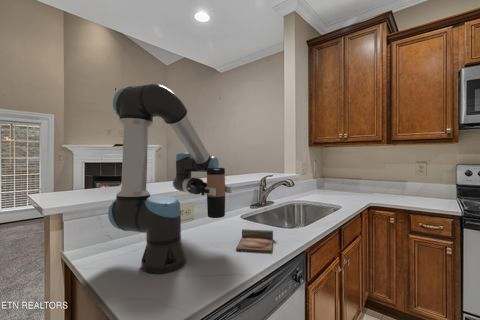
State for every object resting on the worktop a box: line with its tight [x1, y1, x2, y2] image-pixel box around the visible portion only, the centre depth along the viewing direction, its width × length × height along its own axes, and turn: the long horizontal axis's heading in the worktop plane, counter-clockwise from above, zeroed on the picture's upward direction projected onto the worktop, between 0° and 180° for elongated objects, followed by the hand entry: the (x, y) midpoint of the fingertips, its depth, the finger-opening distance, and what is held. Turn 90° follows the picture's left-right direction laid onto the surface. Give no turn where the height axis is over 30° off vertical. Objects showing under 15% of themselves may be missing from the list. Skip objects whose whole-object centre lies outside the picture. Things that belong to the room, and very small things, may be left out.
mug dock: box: [235, 228, 274, 254], centre depth 101 cm, size 15×14×4 cm
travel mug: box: [206, 167, 226, 219], centre depth 99 cm, size 8×8×20 cm
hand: (223, 191), depth 96 cm, fingers closed on travel mug, 7 cm apart
